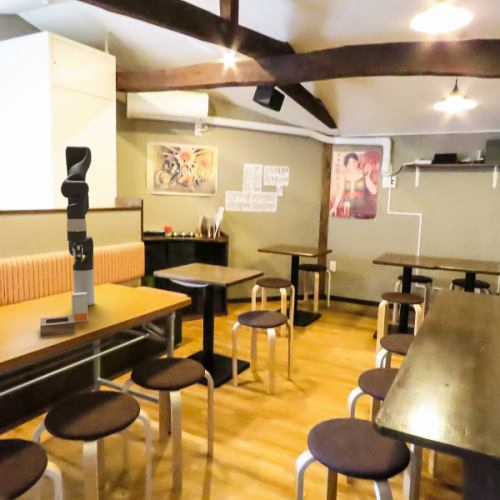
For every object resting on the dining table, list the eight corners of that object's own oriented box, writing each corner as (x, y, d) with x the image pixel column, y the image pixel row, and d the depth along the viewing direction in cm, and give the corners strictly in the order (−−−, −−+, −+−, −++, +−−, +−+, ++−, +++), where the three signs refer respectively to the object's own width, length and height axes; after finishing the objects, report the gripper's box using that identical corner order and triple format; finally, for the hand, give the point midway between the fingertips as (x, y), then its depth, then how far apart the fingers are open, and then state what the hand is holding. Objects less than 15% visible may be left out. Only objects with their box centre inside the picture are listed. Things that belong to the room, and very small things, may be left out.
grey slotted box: (40, 328, 174) (40, 318, 174) (73, 324, 179) (72, 315, 179) (40, 336, 164) (40, 326, 164) (74, 332, 169) (74, 322, 169)
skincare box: (73, 323, 181) (71, 295, 180) (72, 320, 185) (70, 292, 183) (88, 321, 184) (87, 293, 182) (87, 318, 188) (86, 291, 186)
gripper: (66, 229, 185) (67, 266, 186) (67, 231, 172) (69, 271, 174) (85, 228, 188) (86, 265, 190) (87, 230, 175) (89, 270, 177)
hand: (78, 268), depth 182 cm, fingers open, 8 cm apart
